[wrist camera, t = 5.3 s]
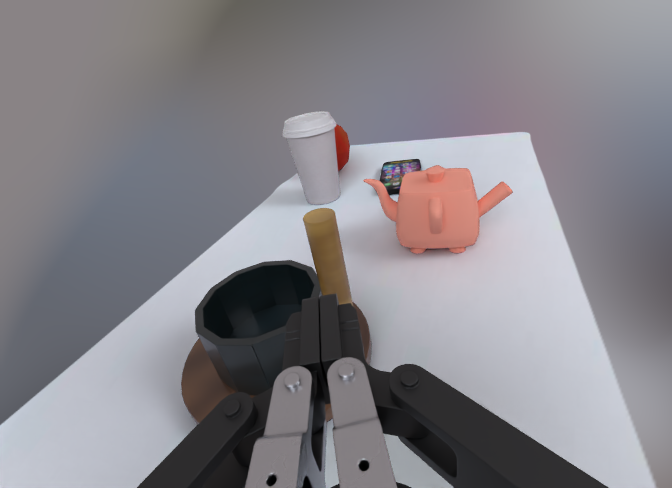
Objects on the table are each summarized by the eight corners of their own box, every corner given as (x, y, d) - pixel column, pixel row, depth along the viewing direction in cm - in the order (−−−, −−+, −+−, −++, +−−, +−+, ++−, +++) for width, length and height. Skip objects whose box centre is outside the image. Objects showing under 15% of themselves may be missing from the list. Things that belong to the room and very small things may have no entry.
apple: (358, 172, 76) (350, 117, 70) (313, 183, 75) (301, 129, 69) (347, 160, 85) (339, 110, 79) (306, 170, 84) (295, 120, 78)
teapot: (450, 208, 55) (449, 144, 50) (513, 237, 45) (519, 162, 40) (371, 240, 51) (361, 174, 46) (421, 280, 41) (415, 202, 36)
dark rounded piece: (152, 380, 34) (63, 249, 27) (283, 278, 45) (247, 165, 38) (273, 500, 23) (181, 337, 16) (407, 328, 34) (392, 181, 27)
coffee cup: (289, 204, 67) (268, 125, 60) (321, 185, 73) (305, 110, 66) (326, 211, 62) (308, 125, 54) (357, 190, 68) (345, 109, 60)
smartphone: (376, 190, 63) (382, 162, 75) (377, 195, 64) (383, 166, 76) (421, 186, 61) (420, 158, 73) (421, 191, 62) (420, 162, 74)
